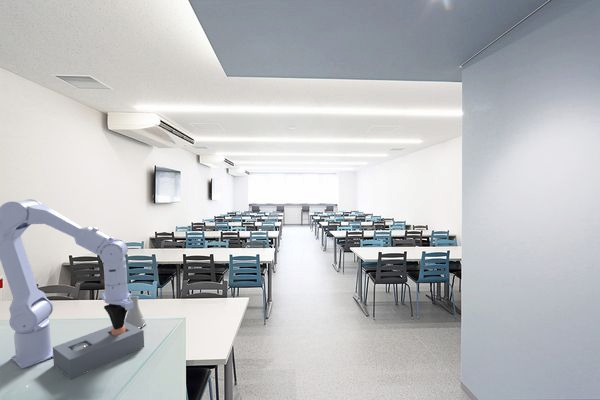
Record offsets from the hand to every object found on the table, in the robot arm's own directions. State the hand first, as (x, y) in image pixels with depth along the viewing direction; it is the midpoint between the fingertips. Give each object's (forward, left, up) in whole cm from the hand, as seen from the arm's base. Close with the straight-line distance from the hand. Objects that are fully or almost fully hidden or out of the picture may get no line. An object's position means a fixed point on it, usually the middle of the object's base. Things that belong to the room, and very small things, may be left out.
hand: (118, 327), depth 97 cm
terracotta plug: (0, 0, -4) cm, 4 cm away
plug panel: (0, -5, -6) cm, 8 cm away
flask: (-10, +10, -6) cm, 15 cm away
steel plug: (0, -10, -6) cm, 12 cm away
